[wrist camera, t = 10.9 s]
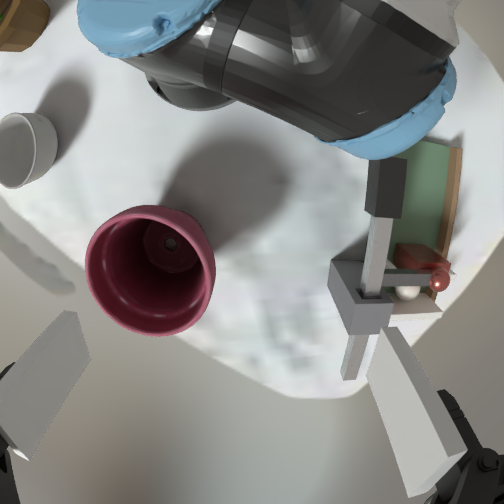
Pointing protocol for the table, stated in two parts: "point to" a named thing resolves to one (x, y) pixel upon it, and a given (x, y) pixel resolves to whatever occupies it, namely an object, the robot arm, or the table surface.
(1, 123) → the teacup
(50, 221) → the table surface
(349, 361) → the slider
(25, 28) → the flowerpot
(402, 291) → the ball
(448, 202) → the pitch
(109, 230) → the plant pot
